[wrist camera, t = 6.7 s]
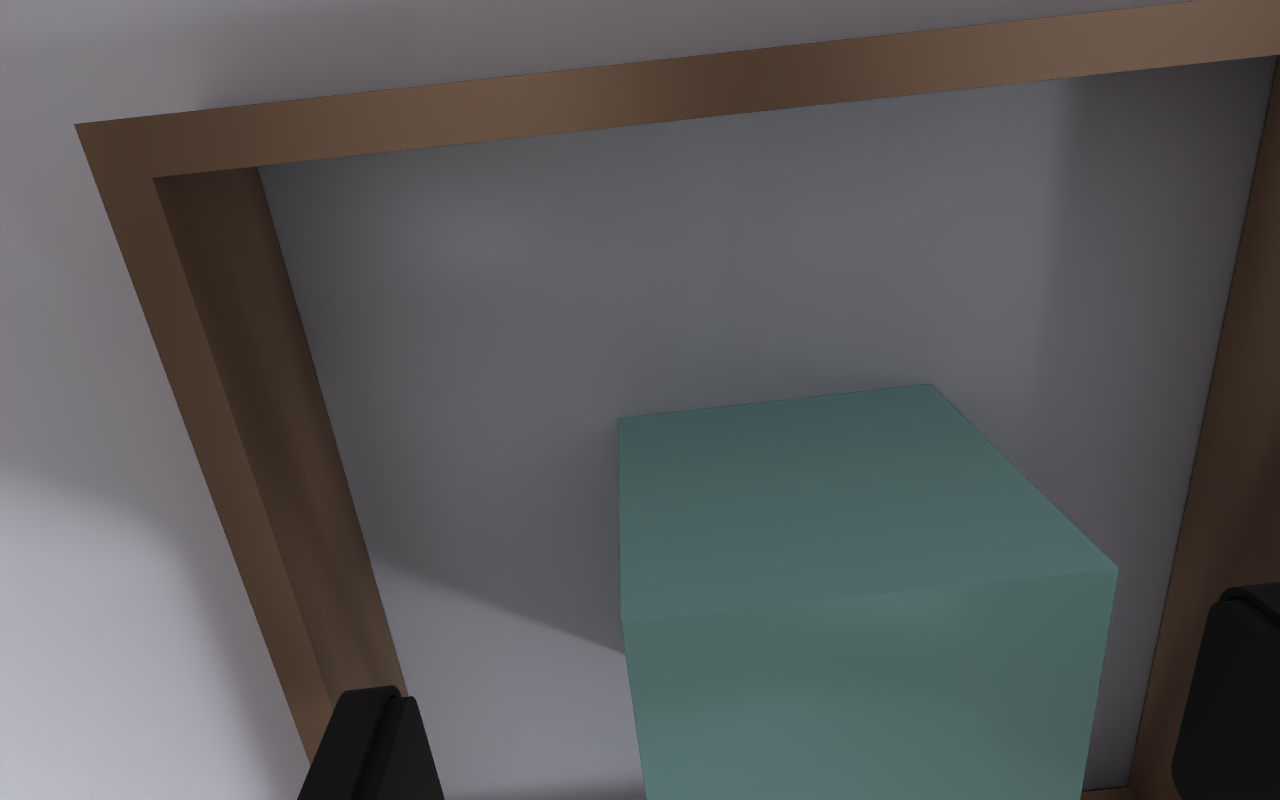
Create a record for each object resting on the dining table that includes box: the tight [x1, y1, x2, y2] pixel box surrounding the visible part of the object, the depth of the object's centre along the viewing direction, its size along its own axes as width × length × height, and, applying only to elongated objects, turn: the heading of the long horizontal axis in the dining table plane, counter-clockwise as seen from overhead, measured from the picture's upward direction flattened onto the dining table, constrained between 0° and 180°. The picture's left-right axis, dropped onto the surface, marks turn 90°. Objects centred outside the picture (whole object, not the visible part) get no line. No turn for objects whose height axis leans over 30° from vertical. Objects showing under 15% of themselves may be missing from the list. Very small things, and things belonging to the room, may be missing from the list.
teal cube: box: [618, 384, 1119, 800], centre depth 11 cm, size 5×5×5 cm
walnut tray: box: [74, 0, 1280, 800], centre depth 12 cm, size 15×15×2 cm
